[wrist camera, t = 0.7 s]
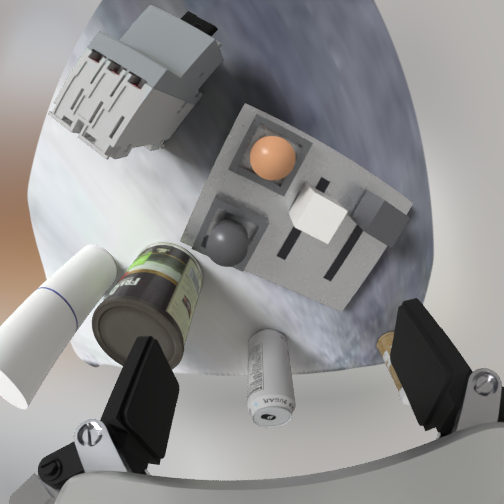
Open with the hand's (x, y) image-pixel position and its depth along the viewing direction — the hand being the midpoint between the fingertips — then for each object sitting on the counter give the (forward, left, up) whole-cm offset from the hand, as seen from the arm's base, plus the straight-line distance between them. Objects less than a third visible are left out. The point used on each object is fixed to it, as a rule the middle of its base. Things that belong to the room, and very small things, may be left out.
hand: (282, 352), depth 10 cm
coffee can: (+16, -7, -27) cm, 32 cm away
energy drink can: (+20, +11, -27) cm, 35 cm away
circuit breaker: (-8, -16, -27) cm, 32 cm away
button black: (+5, -2, -22) cm, 22 cm away
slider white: (-2, +5, -24) cm, 24 cm away
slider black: (-5, +12, -24) cm, 27 cm away
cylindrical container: (+20, -18, -27) cm, 38 cm away
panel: (0, +5, -27) cm, 27 cm away
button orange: (-5, -2, -22) cm, 22 cm away
